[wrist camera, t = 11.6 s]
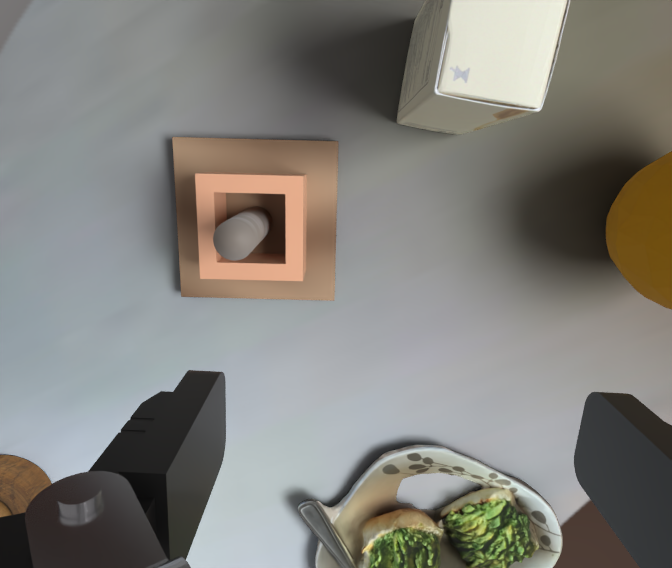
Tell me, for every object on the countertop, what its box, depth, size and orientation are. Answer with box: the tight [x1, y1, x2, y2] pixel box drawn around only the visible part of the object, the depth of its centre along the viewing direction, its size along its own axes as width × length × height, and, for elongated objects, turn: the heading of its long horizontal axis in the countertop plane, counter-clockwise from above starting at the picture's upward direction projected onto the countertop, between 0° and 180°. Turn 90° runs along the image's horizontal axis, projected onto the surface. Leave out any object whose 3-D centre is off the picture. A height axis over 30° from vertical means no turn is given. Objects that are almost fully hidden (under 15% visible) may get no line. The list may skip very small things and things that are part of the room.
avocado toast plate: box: [298, 445, 563, 568], centre depth 36 cm, size 19×18×5 cm
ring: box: [195, 172, 307, 281], centre depth 29 cm, size 6×6×3 cm
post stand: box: [172, 137, 338, 300], centre depth 28 cm, size 10×10×8 cm
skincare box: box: [397, 0, 570, 135], centre depth 24 cm, size 6×4×12 cm
